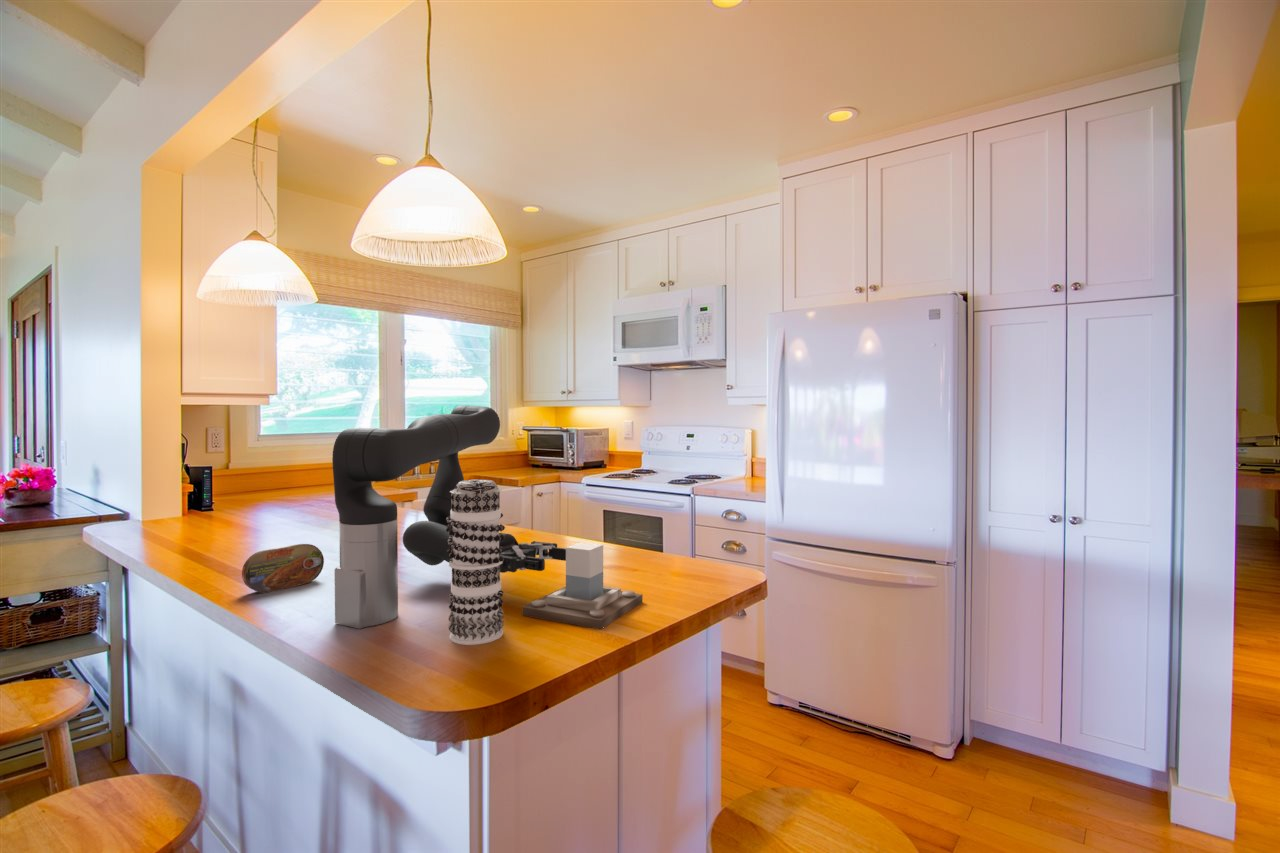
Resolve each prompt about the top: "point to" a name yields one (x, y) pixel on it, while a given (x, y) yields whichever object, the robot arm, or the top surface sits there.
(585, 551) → the post
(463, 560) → the decorative candle
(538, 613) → the socket plate
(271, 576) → the tin
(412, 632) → the top surface
